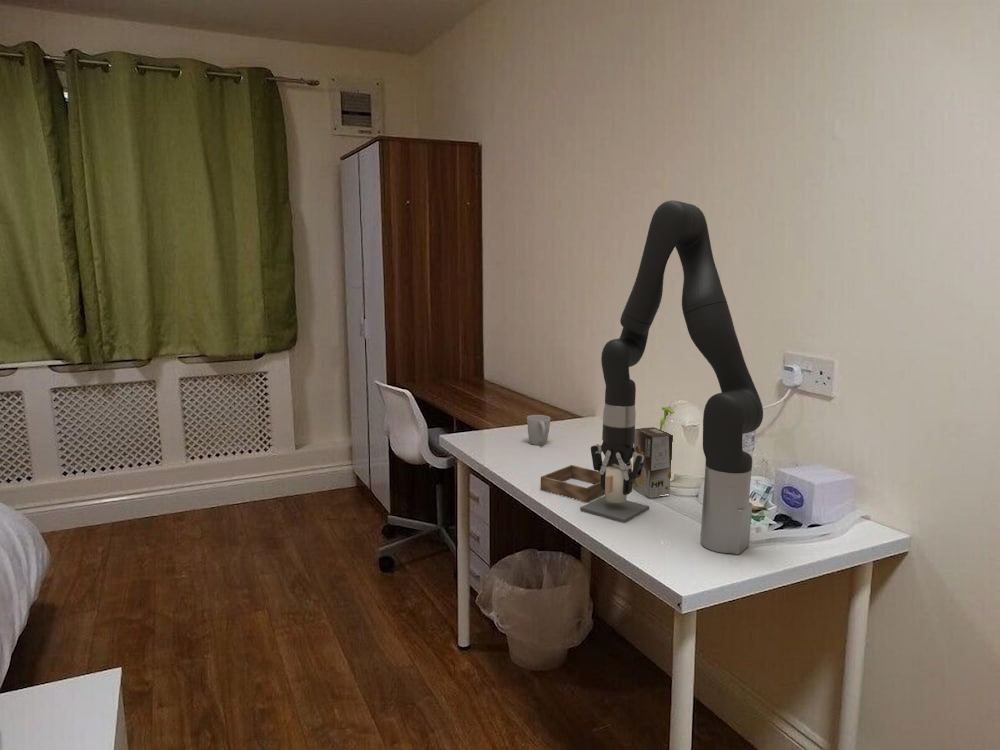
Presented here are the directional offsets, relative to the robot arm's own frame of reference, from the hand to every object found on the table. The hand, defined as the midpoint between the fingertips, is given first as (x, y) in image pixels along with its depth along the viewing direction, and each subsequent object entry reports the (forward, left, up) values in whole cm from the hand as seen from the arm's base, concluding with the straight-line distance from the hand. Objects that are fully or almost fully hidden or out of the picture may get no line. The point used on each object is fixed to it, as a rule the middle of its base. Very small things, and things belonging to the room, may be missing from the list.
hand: (615, 491), depth 171 cm
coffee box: (0, -18, -5) cm, 19 cm away
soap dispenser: (+2, -30, -5) cm, 30 cm away
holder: (+15, -7, -5) cm, 17 cm away
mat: (0, 0, -5) cm, 5 cm away
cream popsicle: (0, 0, -2) cm, 2 cm away
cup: (+49, -36, -5) cm, 61 cm away
